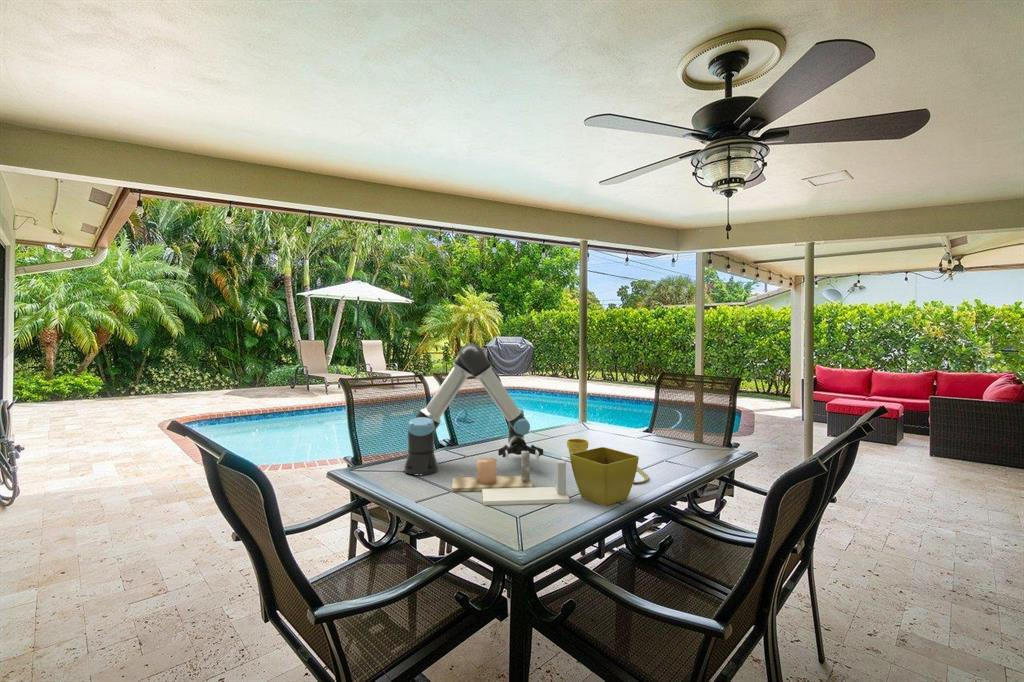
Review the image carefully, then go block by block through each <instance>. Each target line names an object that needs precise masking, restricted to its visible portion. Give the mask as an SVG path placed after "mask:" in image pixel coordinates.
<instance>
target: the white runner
mask: <svg viewBox="0 0 1024 682" xmlns="http://www.w3.org/2000/svg"><path fill="white" fill-rule="evenodd" d="M555 463H556V464H555V486H544V487H543V486H542V487H537V486H536V487H532V488H498V489H482V491H481V492H482V493H481V494H482V506H502V505H503V506H504V505H505V506H506V505H507V506H508V505H535V504H537V505H539V504H540V505H542V504H544V505H545V503H546V504H570V503H571V499H570V497H569V496H568V493H567V492H566V489H567V488H566V487H567V481H566V480H567V479H566V478H567V469H566V467H567V462H566V461H565V460H563V459H559V460H558V459H557V460H556V461H555Z"/></svg>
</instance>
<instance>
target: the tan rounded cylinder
mask: <svg viewBox="0 0 1024 682" xmlns="http://www.w3.org/2000/svg"><path fill="white" fill-rule="evenodd" d="M496 476H497V458H494V457H480V458H478V459H476V477H477V483H478V484H482V485H491V484H494V483H496Z"/></svg>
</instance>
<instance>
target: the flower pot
mask: <svg viewBox="0 0 1024 682" xmlns="http://www.w3.org/2000/svg"><path fill="white" fill-rule="evenodd" d="M569 457H570V459H569V460H570V464H571V468H572V469H571V470H572V473H573V474H572V475H573V476H574V480H575V482H576V483H575V484H576V486H577V490H578V493H579V494H580V496H581V498H582V497H583V498H582V499H585V498H586V499H585V500H587V499H588V500H587V501H590V502H592V501H593V503H595V502H596V504H597V503H598V505H600V504H601V505H600V506H602V505H604V507H606V505H607V506H610V505H614V504H617V503H620V502H623V501H626V500H627V499H628V498H629V495H630V492H631V490H632V487H633V485H634V484H633V482H635V478H636V474H637V471H636V470H637V466H638V465H639V460H640V459H639V458H640V457H639V455H636V454H631V453H628V452H626V451H625V452H624V451H621V450H617V449H614V448H613V449H612V448H609V447H605V446H601V447H595V448H591V449H587V450H585V451H581V452H576V453H572V454H569ZM619 501H620V502H619ZM616 502H617V503H616ZM613 503H614V504H613Z"/></svg>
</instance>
